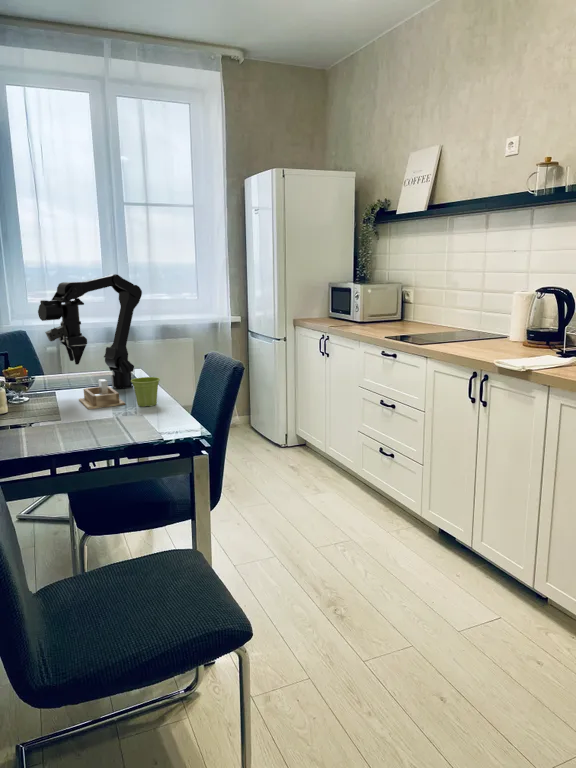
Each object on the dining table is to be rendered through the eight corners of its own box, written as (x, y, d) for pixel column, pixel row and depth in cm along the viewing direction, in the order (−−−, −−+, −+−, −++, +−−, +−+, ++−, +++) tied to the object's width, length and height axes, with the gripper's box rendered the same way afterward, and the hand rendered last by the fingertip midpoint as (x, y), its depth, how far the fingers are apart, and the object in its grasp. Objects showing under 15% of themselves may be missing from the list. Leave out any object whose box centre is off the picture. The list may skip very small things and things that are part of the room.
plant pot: (126, 406, 194) (124, 380, 192) (145, 400, 202) (144, 375, 200) (148, 409, 189) (146, 383, 188) (167, 403, 197) (165, 378, 196)
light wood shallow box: (113, 396, 209) (113, 385, 208) (125, 404, 196) (124, 392, 196) (78, 400, 203) (78, 389, 202) (88, 409, 190) (87, 397, 190)
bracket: (105, 398, 202) (104, 378, 201) (108, 401, 199) (107, 380, 198) (92, 400, 200) (90, 380, 199) (95, 402, 197) (93, 382, 195)
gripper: (41, 317, 209) (45, 361, 212) (50, 322, 193) (55, 368, 196) (74, 316, 215) (77, 358, 218) (85, 320, 199) (89, 365, 202)
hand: (74, 362), depth 208 cm, fingers open, 9 cm apart
